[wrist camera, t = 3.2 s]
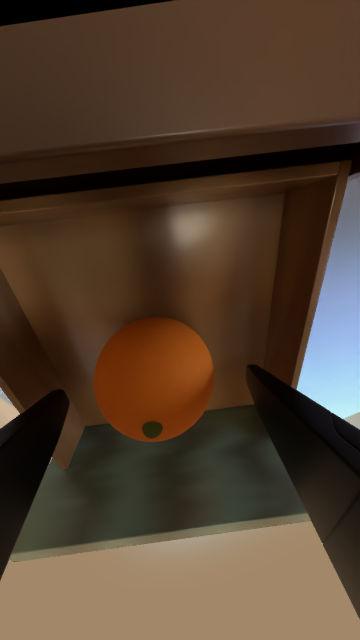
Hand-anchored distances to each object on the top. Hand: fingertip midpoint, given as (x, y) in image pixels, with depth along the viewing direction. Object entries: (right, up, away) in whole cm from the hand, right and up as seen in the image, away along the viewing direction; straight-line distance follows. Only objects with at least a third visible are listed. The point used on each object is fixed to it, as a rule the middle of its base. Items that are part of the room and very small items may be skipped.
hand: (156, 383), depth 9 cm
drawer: (0, +1, +5) cm, 5 cm away
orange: (0, +2, +3) cm, 4 cm away
